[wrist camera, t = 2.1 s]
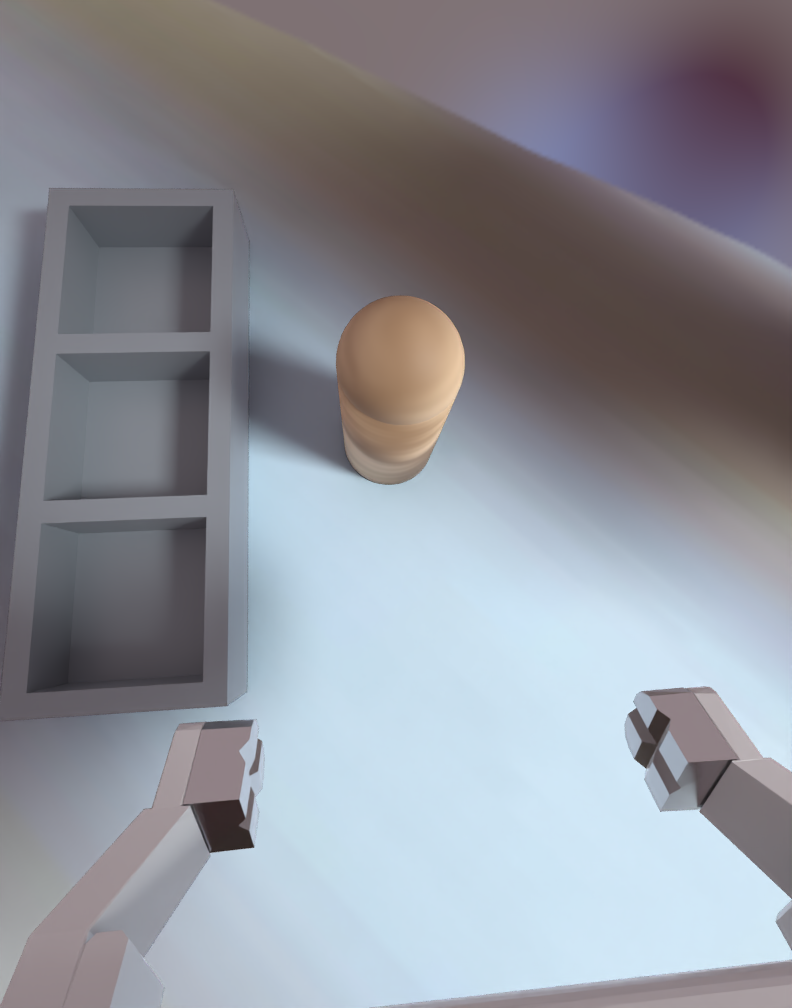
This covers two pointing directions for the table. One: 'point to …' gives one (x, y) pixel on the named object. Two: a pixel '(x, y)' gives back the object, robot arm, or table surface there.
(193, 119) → the table surface
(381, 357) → the tan domed cylinder
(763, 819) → the robot arm
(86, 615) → the grey compartment tray
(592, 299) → the table surface
